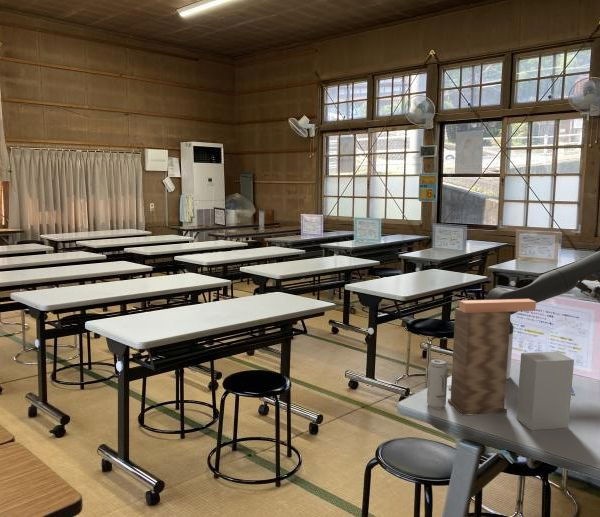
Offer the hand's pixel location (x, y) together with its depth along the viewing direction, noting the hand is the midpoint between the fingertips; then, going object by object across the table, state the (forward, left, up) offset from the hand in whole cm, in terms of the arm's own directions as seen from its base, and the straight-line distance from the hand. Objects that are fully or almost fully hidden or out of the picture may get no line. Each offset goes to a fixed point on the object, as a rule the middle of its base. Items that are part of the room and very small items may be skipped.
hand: (585, 285), depth 178 cm
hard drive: (-14, +6, -40) cm, 43 cm away
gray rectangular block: (+9, -22, -40) cm, 46 cm away
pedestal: (-8, -34, -40) cm, 52 cm away
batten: (-7, -29, -8) cm, 30 cm away
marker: (-18, -27, -40) cm, 52 cm away
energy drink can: (-13, -46, -40) cm, 62 cm away
